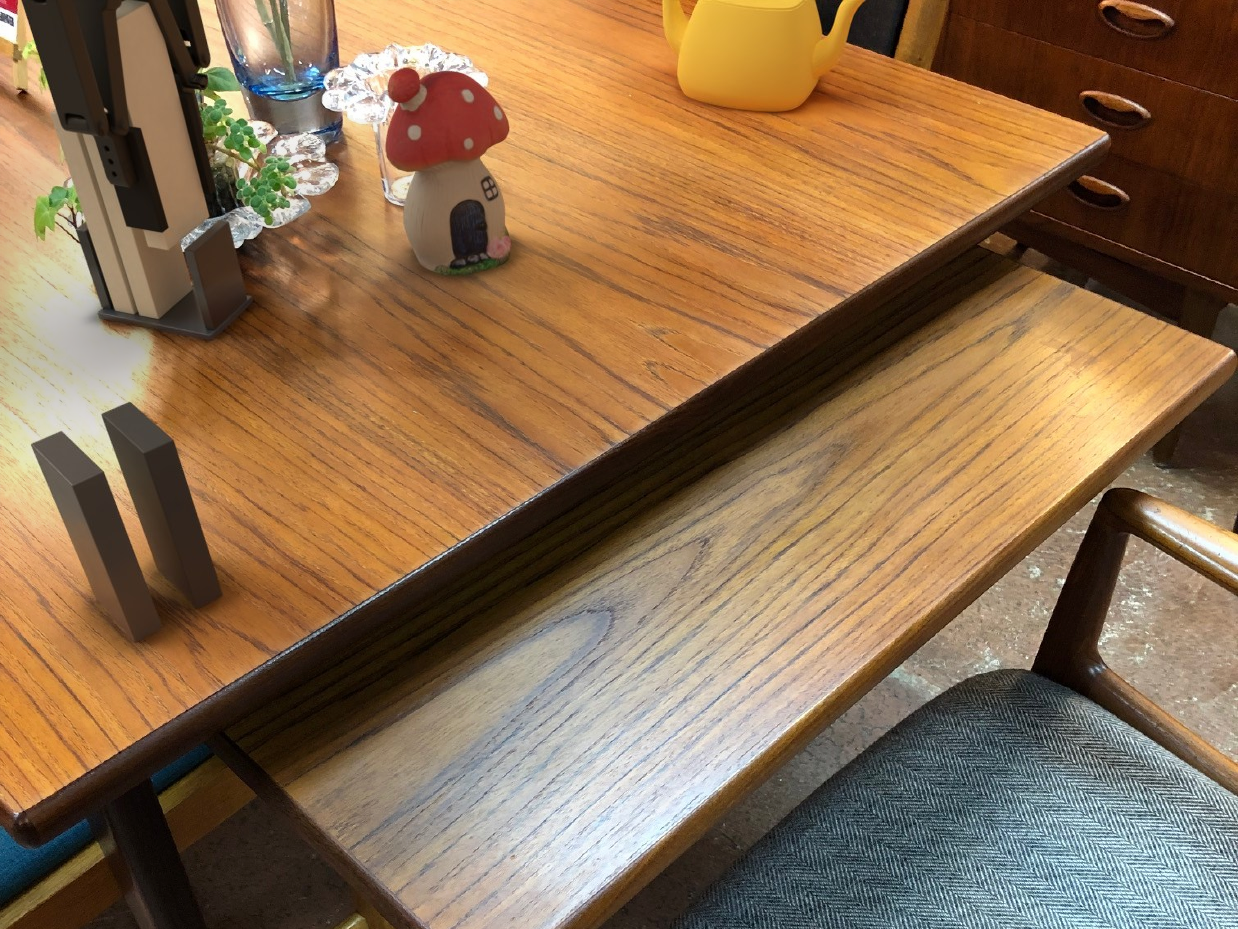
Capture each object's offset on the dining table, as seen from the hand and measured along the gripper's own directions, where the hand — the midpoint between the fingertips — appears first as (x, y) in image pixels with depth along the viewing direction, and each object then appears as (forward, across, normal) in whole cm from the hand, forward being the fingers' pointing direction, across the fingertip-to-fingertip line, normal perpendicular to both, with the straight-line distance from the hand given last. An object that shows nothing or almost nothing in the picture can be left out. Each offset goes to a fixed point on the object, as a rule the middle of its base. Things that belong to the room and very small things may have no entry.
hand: (172, 207), depth 79 cm
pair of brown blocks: (+9, -26, -14) cm, 31 cm away
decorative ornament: (+9, +14, -14) cm, 22 cm away
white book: (+2, 0, 0) cm, 2 cm away
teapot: (+9, +55, -27) cm, 62 cm away
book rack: (+9, 0, +2) cm, 9 cm away
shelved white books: (+8, 0, +4) cm, 8 cm away
